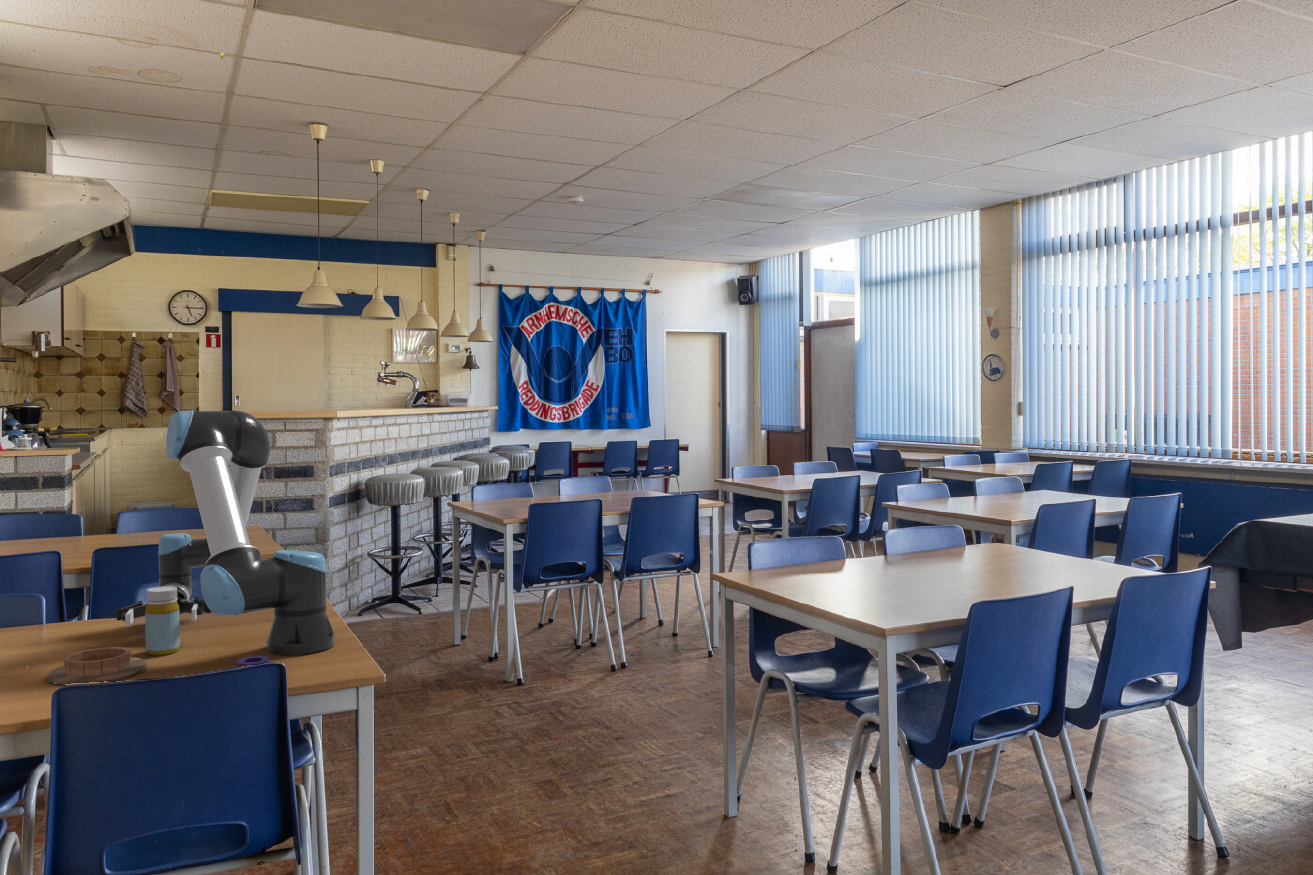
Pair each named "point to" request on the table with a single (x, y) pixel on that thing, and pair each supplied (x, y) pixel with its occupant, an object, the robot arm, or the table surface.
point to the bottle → (162, 621)
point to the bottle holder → (97, 666)
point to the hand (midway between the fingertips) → (160, 618)
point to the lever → (252, 660)
